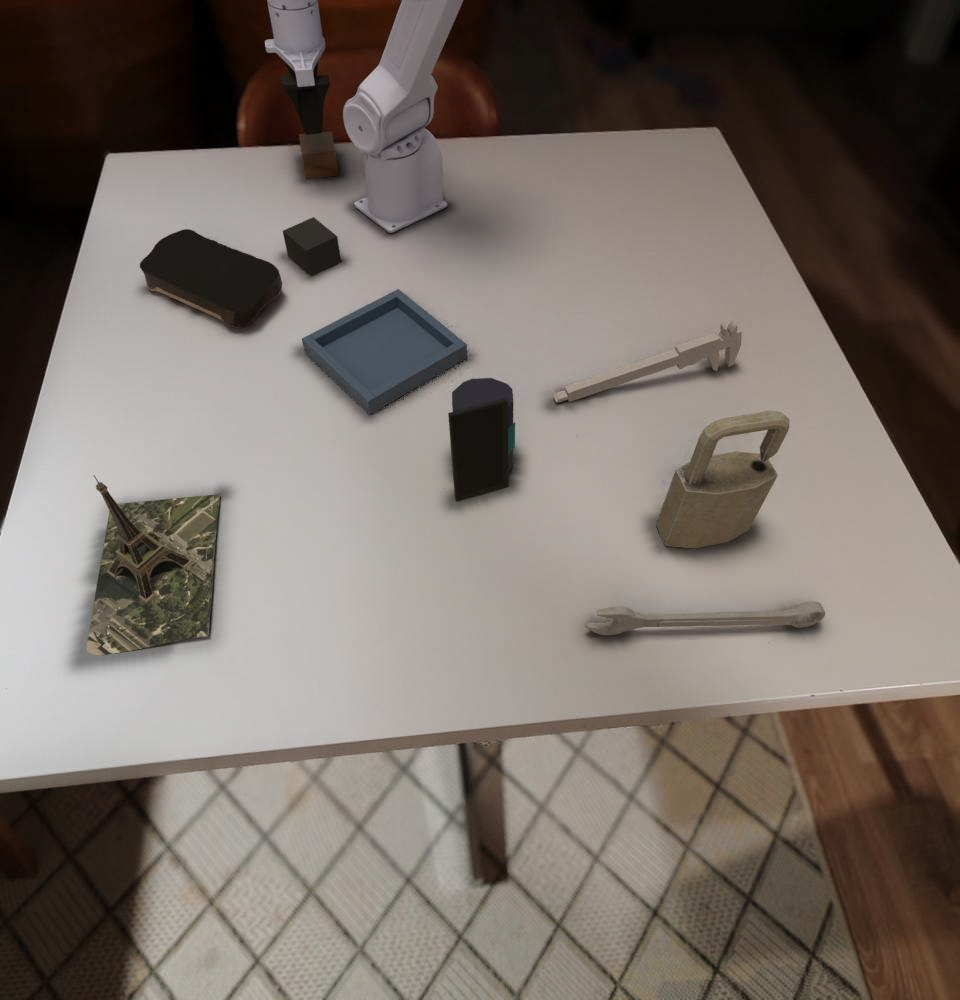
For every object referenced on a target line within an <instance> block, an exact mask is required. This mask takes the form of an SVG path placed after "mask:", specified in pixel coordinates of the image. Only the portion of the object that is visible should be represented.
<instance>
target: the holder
mask: <svg viewBox="0 0 960 1000" xmlns="http://www.w3.org/2000/svg"><path fill="white" fill-rule="evenodd" d="M301 341H302V346H303V352H304V354H305V355H306V356H308V357H309V358H310V359H311V360H312V361H313V362H314V363H315V365H317V366H318V367H319V368H320V369H321V370H322V371H323V372H324V373H325V374H327V375H328V376H329V378H331V379H332V380H333V381H334V382H335V383H336V384H337V385H338V386H339V387H340V388H341V389H342V390H343V391H344V392H346V394H348V396H350V397H351V398H352V400H354V401H355V402H356V403H357V404H358V405H359V406H360V407H361V408H362V409H363V410H364V411H365V412H366V413H367V414H368V415H372V414H374V413H376V412H377V411H379V410H380V409H382V408H384V407H386V406H387V405H390V404H391V403H393V402H394V401H397V400H398V399H400V398H401V397H403V396H405V395H406V394H408V393H410V392H411V391H413V390H415V389H417V388H418V387H421V386H422V385H423V384H425V383H427V382H429V381H430V380H432V379H433V378H435V377H438V376H439V375H440V374H442V373H444V372H446V371H447V370H449V369H451V368H452V367H454V366H456V365H457V364H459V363H461V362H463V361H465V360H466V359H467V358H468V344H467V343H466V342H465V341H463V340H462V339H461V338H460V337H459V336H457V335H456V334H455V333H454V332H452V331H451V330H450V329H449V328H447V327H446V326H445V325H444V324H442V323H441V322H440V321H439V320H438V319H436V318H435V317H434V316H433V315H432V314H430V313H429V312H428V311H427V310H426V309H424V308H423V307H422V306H421V305H419V304H418V303H417V302H415V301H414V300H413V299H411V298H410V297H409V296H408V295H407V294H405V293H404V292H403V291H402V290H400V289H399V288H398V289H396V290H395V289H394V291H391V292H390V293H387V294H386V295H383V296H382V297H380V298H378V299H376V300H374V301H372V302H370V303H368V304H366V305H364V306H362V307H360V308H358V309H357V310H355V311H353V312H350V313H349V314H347V315H345V316H343V317H341V318H339V319H337V320H335V321H333V322H331V323H329V324H327V325H325V326H323V327H321V328H319V329H318V330H315V331H314V332H311V333H310V334H308V335H306V336H304V337H302V338H301Z"/></svg>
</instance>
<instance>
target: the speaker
mask: <svg viewBox="0 0 960 1000" xmlns="http://www.w3.org/2000/svg"><path fill="white" fill-rule="evenodd" d="M451 406H452V407H451V409H452V411H450V412H448V413H447V416H448V417H447V418H448V429H449V441H450V455H451V466H452V480H453V493H454V499H455V501H456V502H459V501H462V500H466V499H469V498H473V497H477V496H480V495H484V494H487V493H491V492H495V491H498V490H501V489H502V490H503V489H506V488H508V487H509V485H510V484H509V482H510V481H509V479H510V478H509V477H510V476H509V471H510V470H511V469H512V468H513V466H514V449H515V447H516V422H514V393H513V388H512V387H511V386H510V385H509V384H508V383H507V382H504V381H501V380H498V379H496V378H493V377H483V378H481V377H480V378H470V379H468V380H465V381H463V382H461V383H460V385H458V386H457V387H456V388H455V389H454V390H453V391H452V392H451Z"/></svg>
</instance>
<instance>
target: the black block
mask: <svg viewBox="0 0 960 1000" xmlns="http://www.w3.org/2000/svg"><path fill="white" fill-rule="evenodd" d="M282 236H283V240H284V245H285V250H286V253H287V257H288V258H289V259H291V261H293V262H294V263H295V264H296V265H297V266H298V267H299V268H300V269H302V270H303V271H304V272H305V273H306V274H307V275H308V276H310V277H312V276H315V275H317V274H318V273H321V272H322V271H325V270H327V269H330V268H331V267H334V266H335V265H337V264H339V263H341V262H342V257H341V253H340V252H341V251H340V245H339V238H338V235H337V234H336V233H334V232H333V231H332V230H330V229H329V227H327V226H325V225H324V224H323V223H322V222H320V221H319V220H318V219H317V218H315V217H314V216H313V217H310V218H308V219H306V220H303V221H302V222H298V223H297V224H295V225H292V226H290V227H288V228H286V229H283V230H282Z"/></svg>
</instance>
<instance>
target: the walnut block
mask: <svg viewBox="0 0 960 1000" xmlns="http://www.w3.org/2000/svg"><path fill="white" fill-rule="evenodd" d="M298 138H299V145H300V146H299V147H300V153H301V158H302V165H303V169H304V176H305V179H306V180H310V179H320V178H331V177H339V176H340V175H339V168H338V166H339V165H338V159H337V153H336V146H335V141H334V136H333V131H331V130H330V131H322V133H320V134H309V135H306V134H305V133H299V134H298Z"/></svg>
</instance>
